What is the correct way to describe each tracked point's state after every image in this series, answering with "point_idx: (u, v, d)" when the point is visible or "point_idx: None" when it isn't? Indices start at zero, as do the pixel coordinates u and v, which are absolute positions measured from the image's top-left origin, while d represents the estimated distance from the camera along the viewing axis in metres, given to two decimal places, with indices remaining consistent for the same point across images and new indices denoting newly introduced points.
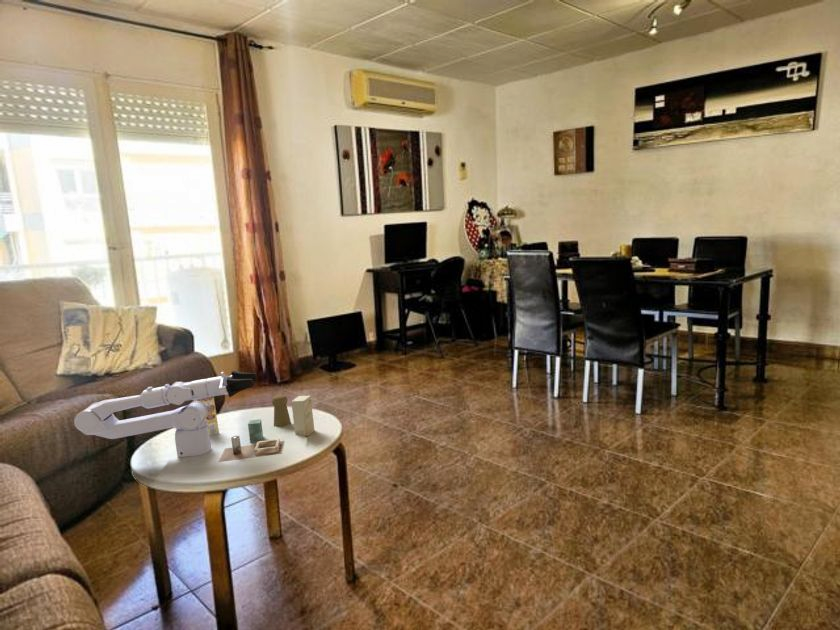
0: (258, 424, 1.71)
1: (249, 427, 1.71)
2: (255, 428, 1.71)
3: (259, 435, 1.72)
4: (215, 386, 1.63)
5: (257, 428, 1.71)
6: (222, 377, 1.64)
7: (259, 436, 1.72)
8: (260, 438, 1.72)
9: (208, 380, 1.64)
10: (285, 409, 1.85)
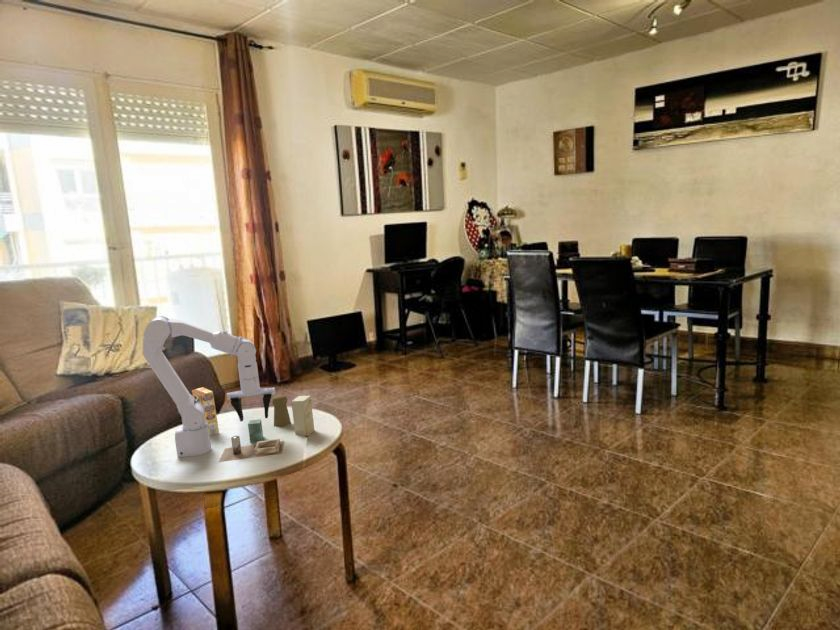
0: (258, 424, 1.71)
1: (249, 427, 1.71)
2: (255, 428, 1.71)
3: (259, 435, 1.72)
4: (259, 384, 1.72)
5: (257, 428, 1.71)
6: None
7: (259, 436, 1.72)
8: (260, 438, 1.72)
9: None
10: (285, 409, 1.85)
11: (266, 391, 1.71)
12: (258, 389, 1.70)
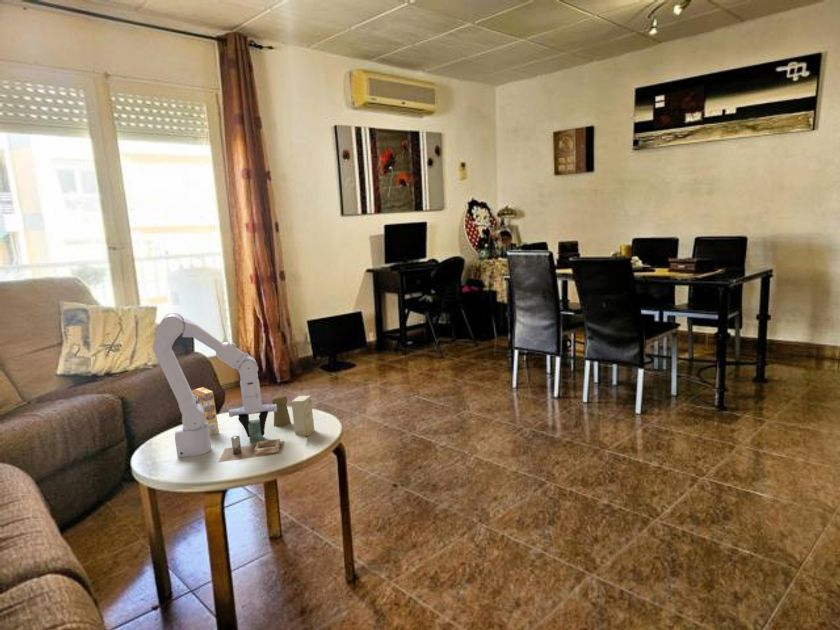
0: (258, 424, 1.71)
1: (249, 427, 1.71)
2: (255, 428, 1.71)
3: (259, 435, 1.72)
4: None
5: (257, 428, 1.71)
6: None
7: (259, 436, 1.72)
8: (260, 438, 1.72)
9: None
10: (285, 409, 1.85)
11: (268, 408, 1.71)
12: (260, 406, 1.71)
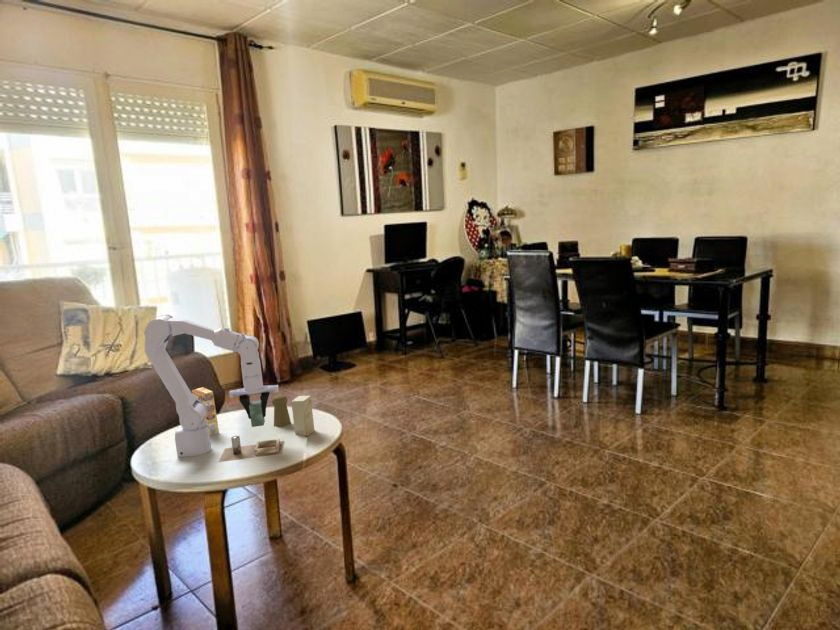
0: (259, 405, 1.67)
1: (250, 408, 1.67)
2: (257, 409, 1.67)
3: (260, 416, 1.68)
4: (262, 381, 1.69)
5: (259, 409, 1.68)
6: None
7: (260, 417, 1.68)
8: (261, 419, 1.68)
9: None
10: (285, 409, 1.85)
11: (270, 388, 1.68)
12: (261, 387, 1.67)
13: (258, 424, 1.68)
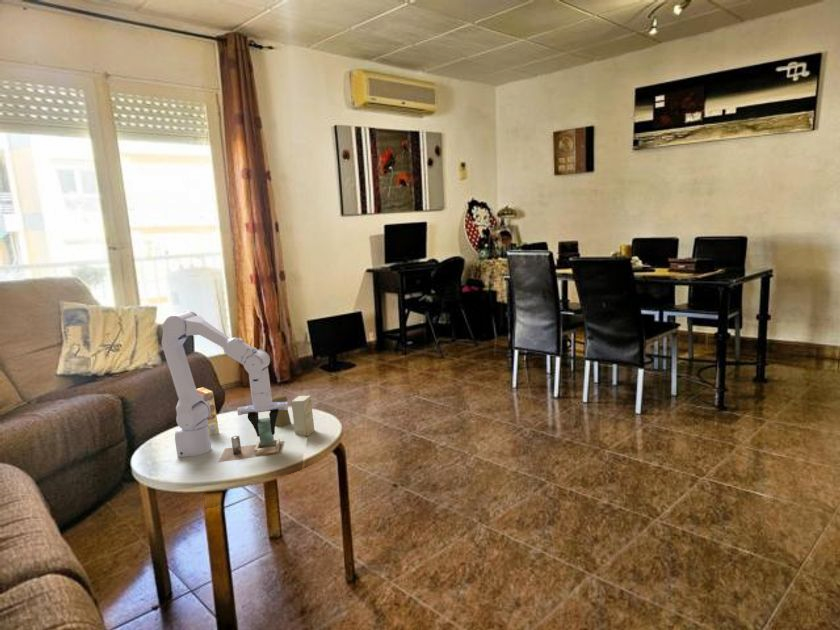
0: (268, 423, 1.62)
1: (259, 426, 1.62)
2: (266, 427, 1.62)
3: (269, 434, 1.63)
4: (271, 398, 1.64)
5: (268, 427, 1.62)
6: None
7: (269, 435, 1.63)
8: (270, 437, 1.63)
9: None
10: None
11: (279, 405, 1.62)
12: (270, 404, 1.62)
13: (267, 442, 1.63)
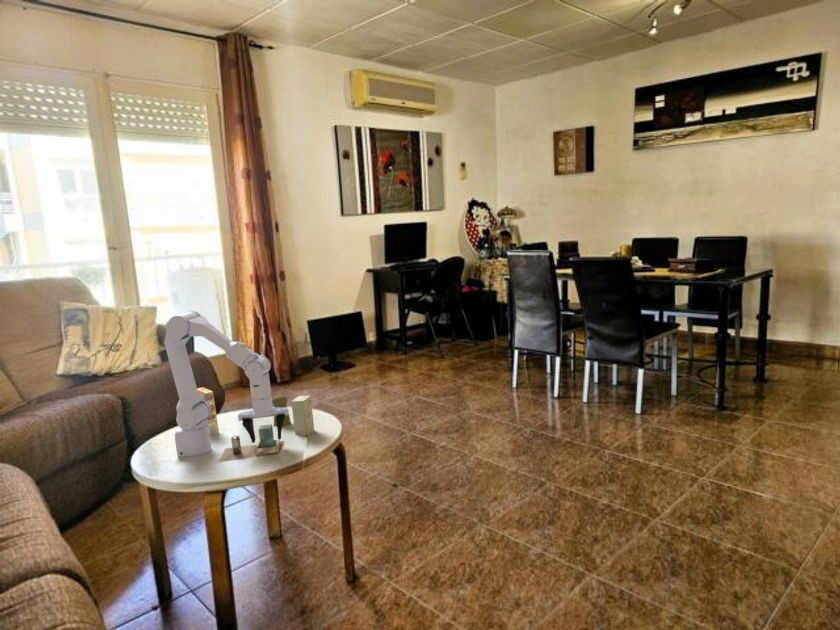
0: (269, 429, 1.63)
1: (260, 433, 1.62)
2: (266, 434, 1.63)
3: (270, 441, 1.63)
4: None
5: (269, 434, 1.63)
6: None
7: (270, 442, 1.63)
8: (271, 444, 1.63)
9: None
10: None
11: (280, 411, 1.63)
12: (271, 409, 1.62)
13: None
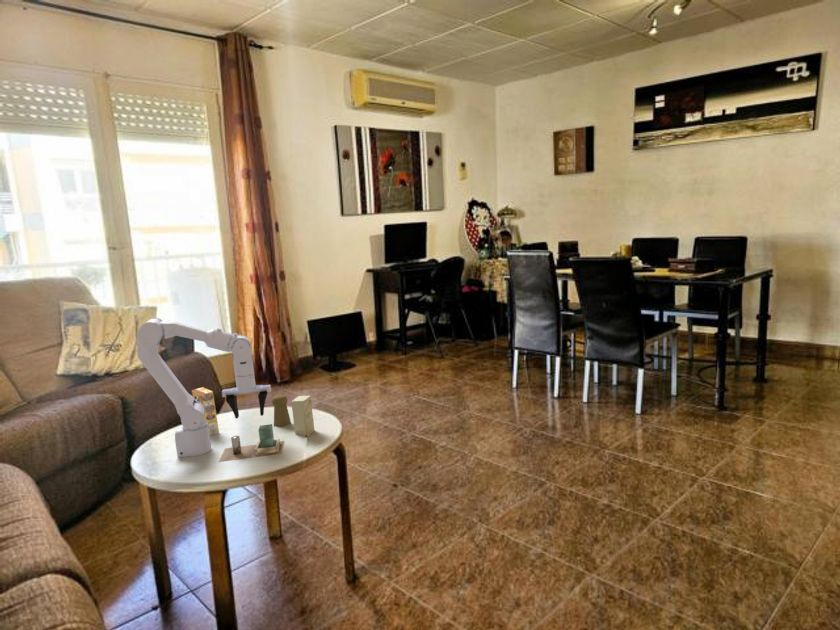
0: (269, 429, 1.63)
1: (260, 433, 1.62)
2: (266, 434, 1.63)
3: (270, 441, 1.63)
4: None
5: (269, 434, 1.63)
6: None
7: (270, 442, 1.63)
8: (271, 444, 1.63)
9: None
10: (285, 409, 1.85)
11: (262, 388, 1.69)
12: (254, 386, 1.69)
13: None
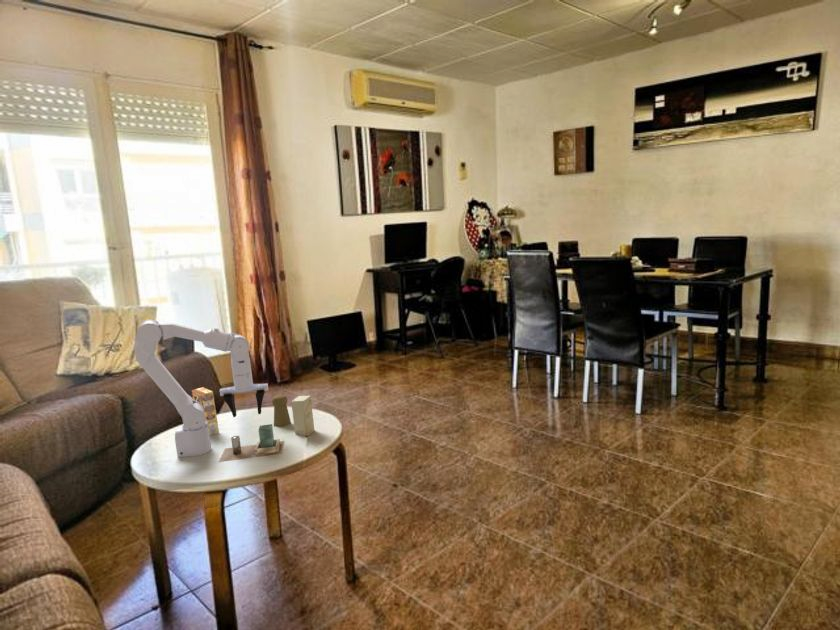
0: (269, 429, 1.63)
1: (260, 433, 1.62)
2: (266, 434, 1.63)
3: (270, 441, 1.63)
4: (252, 380, 1.72)
5: (269, 434, 1.63)
6: None
7: (270, 442, 1.63)
8: (271, 444, 1.63)
9: None
10: (285, 409, 1.85)
11: (259, 387, 1.70)
12: (251, 385, 1.70)
13: None
